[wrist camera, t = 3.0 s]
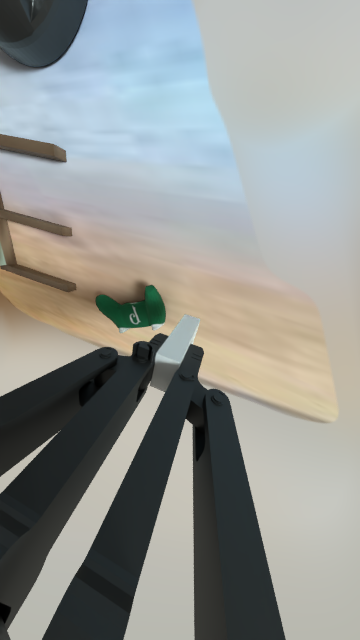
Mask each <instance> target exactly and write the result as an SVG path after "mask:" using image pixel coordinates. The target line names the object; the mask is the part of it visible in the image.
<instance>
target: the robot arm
mask: <svg viewBox="0 0 360 640" xmlns="http://www.w3.org/2000/svg"><path fill="white" fill-rule="evenodd" d="M86 4H87V0H0V48H1V49H2V50H4V51H5V52H6V53H7V54H8V55H9V56H11V57H12V58H13V59H15V60H16V61H18V62H20V63H22V64H24V65H28V66H32V67H40V66H45V65H48V64H50V63H52V62H53V61H55V60H56V59H57V58H59V57H60V56H61V55H62V54H63V53H64V51H65V50H66V49H67V48H68V46H69V45H70V43H71V41H72V40H73V38H74V36H75V34H76V32H77V30H78V27H79V25H80V22H81V20H82V17H83V14H84V11H85V7H86ZM199 323H200V319H198V318H195V317H192V316H189V315H186V314H185V315H184V316H183V318H182V319H181V320H180V322H179V323H178V325H177V326H176V327H175V329H174V330H173V331H172V333H171V334H170V335H169V336H167V335H164V334H161V333H159V334H157V335H155V336H154V337H153V338H152V339H151V340H150V342H145V341H139V342H136V343H134V344H133V352H132V355H131V356H120V355H118V352H117V351H116V350H115V349H114V348H111V347H103V348H100V349H97V350H95V351H93V352H91V353H89V354H87V355H85V356H83V357H81V358H79V359H77V360H75V361H73V362H71V363H68V364H66V365H64V366H63V367H60V368H58V369H56V370H54V371H52V372H50V373H48V374H46V375H44V376H42V377H40V378H38V379H36V380H34V381H32V382H29V383H28V384H26V385H23V386H21V387H20V388H17V389H15V390H13V391H11V392H9V393H7V394H5V395H3V396H1V397H0V476H1V475H3V474H4V473H5V472H7V471H8V470H10V469H11V468H12V467H13V466H15V465H16V464H17V463H19V462H20V461H21V460H22V459H24V458H25V457H26V456H28V455H29V454H30V453H31V452H33V451H34V450H35V449H36V448H38V447H39V446H41V445H42V444H43V443H45V442H46V441H47V440H48V439H50V438H51V437H52V436H54V435H55V434H56V433H58V432H59V431H60V432H59V433H58V434H57V435H56V436H55V437H54V438H53V439H52V440H51V441H50V442H49V443H48V444H47V445H46V447H44V448H43V450H42V451H41V452H40V453H39V454H38V455H37V456H36V457H35V458H34V459H33V460H32V461H31V462H30V463H29V464H28V465H27V466H26V467H25V469H24V470H23V471H22V472H21V473H20V474H19V475H18V476H17V477H16V478H15V479H14V480H13V481H12V482H11V483H10V484H9V486H7V488H6V489H5V490H4V491H3V492H2V493H1V494H0V640H10V637H9V635H8V632H7V629H8V628H9V626H10V624H11V623H12V621H13V619H14V618H15V616H16V614H17V612H18V611H19V609H20V607H21V606H22V604H23V602H24V601H25V599H26V597H27V595H28V594H29V592H30V590H31V589H32V587H33V585H34V583H35V582H36V580H37V578H38V576H39V574H40V572H41V570H42V567H43V565H44V562H45V560H46V557H47V555H48V553H49V551H50V549H51V548H52V546H53V544H54V543H55V541H56V539H57V538H58V536H59V534H60V533H61V531H62V529H63V528H64V526H65V524H66V523H67V521H68V520H69V518H70V516H71V515H72V513H73V511H74V509H75V508H76V506H77V505H78V503H79V501H80V500H81V498H82V496H83V495H84V493H85V492H86V490H87V488H88V487H89V485H90V483H91V482H92V480H93V478H94V477H95V475H96V473H97V472H98V470H99V468H100V467H101V465H102V464H103V462H104V460H105V459H106V457H107V455H108V454H109V452H110V450H111V449H112V447H113V445H114V444H115V442H116V440H117V439H118V437H119V436H120V433H121V432H122V431H123V429H124V427H125V426H126V424H127V422H128V421H129V419H130V417H131V416H132V414H133V413H134V411H135V409H136V408H137V406H138V404H139V403H140V401H141V399H142V398H143V396H144V394H145V393H146V390H147V386H148V384H149V383H150V381H151V383H150V386H152V387H154V388H157V389H159V390H161V391H164V392H165V394H164V396H163V398H162V400H161V403H160V405H159V407H158V409H157V411H156V413H155V415H154V417H153V419H152V421H151V423H150V425H149V427H148V430H147V432H146V434H145V436H144V438H143V440H142V442H141V444H140V446H139V448H138V450H137V452H136V455H135V457H134V459H133V461H132V463H131V465H130V467H129V469H128V471H127V473H126V475H125V478H124V479H123V482H122V484H121V486H120V488H119V490H118V492H117V494H116V496H115V498H114V501H113V502H112V505H111V507H110V509H109V511H108V513H107V515H106V517H105V519H104V521H103V523H102V525H101V527H100V529H99V532H98V534H97V536H96V538H95V540H94V542H93V544H92V546H91V548H90V550H89V552H88V554H87V556H86V558H85V560H84V562H83V563H82V565H81V567H80V568H79V570H78V571H77V573H76V574H75V576H74V578H73V580H72V581H71V583H70V585H69V587H68V589H67V590H66V592H65V594H64V596H63V598H62V600H61V602H60V604H59V606H58V608H57V610H56V612H55V614H54V616H53V618H52V620H51V622H50V624H49V626H48V628H47V630H46V632H45V634H44V636H43V638H42V640H123V639H124V635H125V631H126V628H127V624H128V620H129V616H130V612H131V608H132V604H133V599H134V596H135V592H136V588H137V585H138V581H139V577H140V574H141V571H142V567H143V564H144V560H145V557H146V553H147V550H148V546H149V543H150V539H151V536H152V533H153V529H154V526H155V522H156V519H157V515H158V512H159V508H160V505H161V501H162V498H163V494H164V491H165V488H166V484H167V481H168V477H169V474H170V470H171V467H172V463H173V460H174V457H175V453H176V450H177V446H178V443H179V439H180V436H181V432H182V429H183V425H184V422H185V419H187V420H188V421H189V422H190V423H192V424H193V506H194V507H193V511H194V512H193V514H194V516H193V518H194V622H195V623H194V626H195V640H286V639H285V635H284V631H283V627H282V622H281V618H280V614H279V610H278V605H277V601H276V597H275V593H274V588H273V584H272V580H271V575H270V571H269V567H268V563H267V558H266V554H265V550H264V546H263V541H262V537H261V533H260V529H259V525H258V520H257V516H256V512H255V508H254V503H253V499H252V495H251V491H250V486H249V482H248V478H247V473H246V469H245V465H244V460H243V457H242V452H241V448H240V443H239V439H238V435H237V431H236V427H235V422H234V418H233V414H232V409H231V405H230V401H229V399H228V397H227V396H226V395H225V393H223V392H222V391H220V390H217V389H210V390H207V389H206V388H204V387H203V386H202V385H201V384H200V383H199V381H198V377H197V376H198V372H199V368H200V365H201V361H202V358H203V354H204V351H203V348H201V347H198V346H195V345H193V342H194V338H195V335H196V332H197V329H198V326H199Z"/></svg>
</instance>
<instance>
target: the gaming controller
mask: <svg viewBox="0 0 360 640" xmlns="http://www.w3.org/2000/svg"><path fill="white" fill-rule="evenodd" d="M96 305H97V307H98V308H99V310H100V311H101V312H102V313H103V314H104V315H105V316H107V317H108V318H109V319H110V320H112V321H113V322H114V323H115V324H116V326H117V327H118V328H119V332H120V333H123V332H125V331H127V330H128V329H130V328H138V327H147V326H152V330H157V329H158V328H160V327H161V326H162V325H163V324H164V322H165V317H166V311H165V306H164V303H163V301H162V298H161V296H160V294H159V293H158V291H157V289H156V288H155V287H154V286H153V285H149V286H146V288H145V300H143V301H141V302H135V303H125V304H123V305H121V304H119V303H117V302H116V301H114V300H113V299H111V298H110V297H108V296H106V295H98V296H97V297H96Z"/></svg>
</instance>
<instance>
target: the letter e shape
mask: <svg viewBox="0 0 360 640" xmlns="http://www.w3.org/2000/svg"><path fill="white" fill-rule="evenodd" d="M0 149H5V150H10V151H15V152H20V153H25V154H30V155H35V156H39V157H44V158H49V159H54V160H59V161H64V162H66V151H65V150H63V149H61V148H60V147H58V146H56V145H54V144H51V143H45V142H40V141H34V140H29V139H24V138H18V137H13V136H8V135H2V134H0ZM7 220H10V221H14V222H17V223H21V224H24V225H28V226H31V227H34V228H38V229H41V230H45V231H48V232H52V233H55V234H59V235H62V236H72V229H71V228H69V227H66V226H62V225H59V224H55V223H51V222H48V221H44V220H41V219H37V218H33V217H30V216H26V215H23V214H19V213H15V212H12V211H8V210H5V209H4V206H3V202H2V198H1V193H0V267H1V269H3V270H6V271H9V272H12V273H15V274H17V275H20V276H23V277H26V278H29V279H32V280H35V281H37V282H40V283H43V284H46V285H49V286H52V287H54V288H57V289H60V290H63V291H66V292H71V291H74V290H76V284H74V283H71V282H68V281H65V280H62V279H59V278H56V277H53V276H50V275H48V274H45V273H42V272H39V271H36V270H33V269H30V268H27V267H24V266H21V265H18V264H17V263H16V258H15V254H14V250H13V245H12V241H11V237H10V232H9V228H8V224H7Z"/></svg>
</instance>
